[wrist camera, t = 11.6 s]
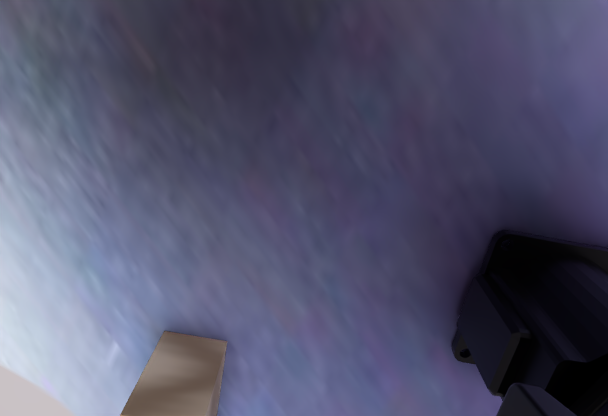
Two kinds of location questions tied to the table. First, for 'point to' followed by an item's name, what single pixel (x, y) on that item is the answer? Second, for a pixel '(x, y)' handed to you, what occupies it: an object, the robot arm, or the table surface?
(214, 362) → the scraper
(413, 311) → the table surface
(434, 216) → the table surface
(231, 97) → the table surface
